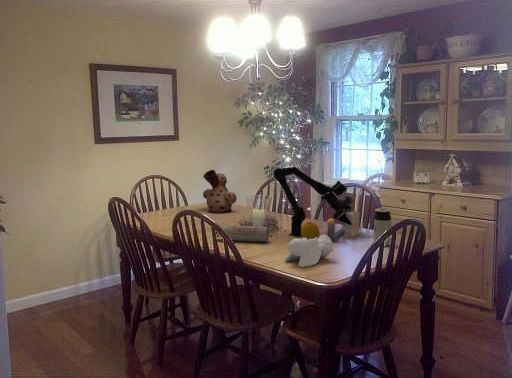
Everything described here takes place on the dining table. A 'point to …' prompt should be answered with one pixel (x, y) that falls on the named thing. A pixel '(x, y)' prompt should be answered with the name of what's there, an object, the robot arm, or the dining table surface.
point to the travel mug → (382, 223)
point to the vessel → (218, 193)
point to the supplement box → (354, 228)
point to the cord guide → (331, 230)
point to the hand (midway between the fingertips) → (353, 223)
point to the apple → (310, 230)
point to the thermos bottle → (247, 233)
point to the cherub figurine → (309, 250)
